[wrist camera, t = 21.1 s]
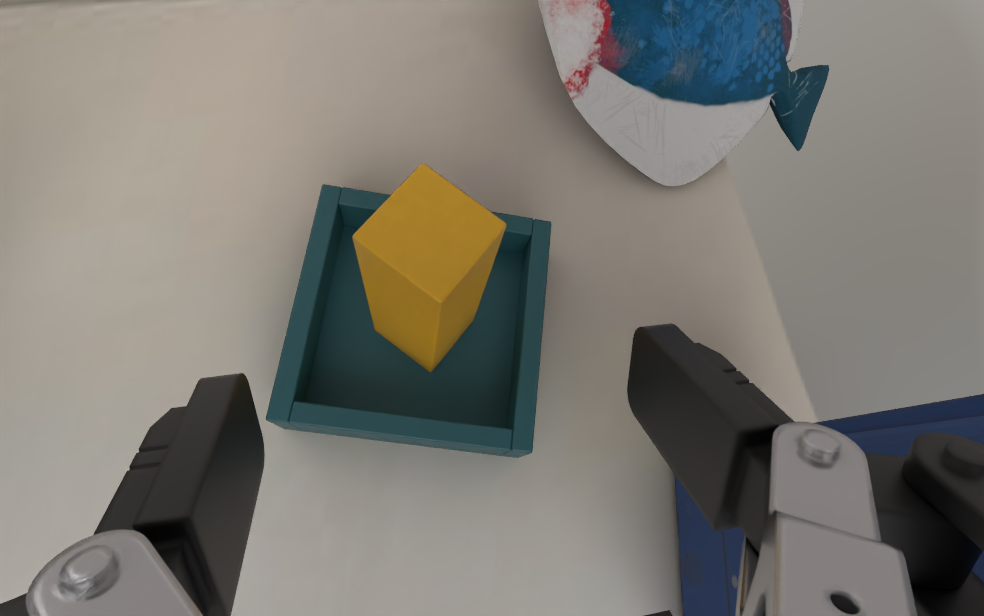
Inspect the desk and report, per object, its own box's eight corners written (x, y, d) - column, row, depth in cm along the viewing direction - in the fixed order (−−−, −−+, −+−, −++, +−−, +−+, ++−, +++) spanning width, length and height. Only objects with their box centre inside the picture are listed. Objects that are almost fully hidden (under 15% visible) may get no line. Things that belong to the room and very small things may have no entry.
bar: (430, 373, 23) (441, 303, 14) (373, 330, 23) (350, 235, 14) (474, 319, 24) (508, 223, 15) (419, 277, 24) (422, 161, 15)
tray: (282, 428, 22) (264, 420, 19) (332, 215, 25) (322, 183, 23) (519, 457, 23) (532, 453, 20) (538, 248, 26) (552, 221, 23)
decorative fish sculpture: (509, -176, 29) (408, 98, 29) (650, -450, 17) (478, 16, 17) (776, 15, 35) (691, 235, 36) (1007, -86, 24) (877, 242, 24)
